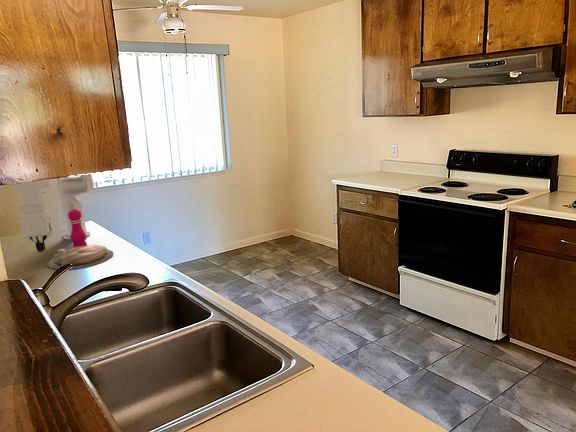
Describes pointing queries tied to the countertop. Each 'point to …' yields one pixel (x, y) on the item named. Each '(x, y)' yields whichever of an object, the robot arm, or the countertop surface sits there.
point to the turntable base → (107, 257)
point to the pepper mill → (77, 228)
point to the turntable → (80, 255)
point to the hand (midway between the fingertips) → (41, 251)
